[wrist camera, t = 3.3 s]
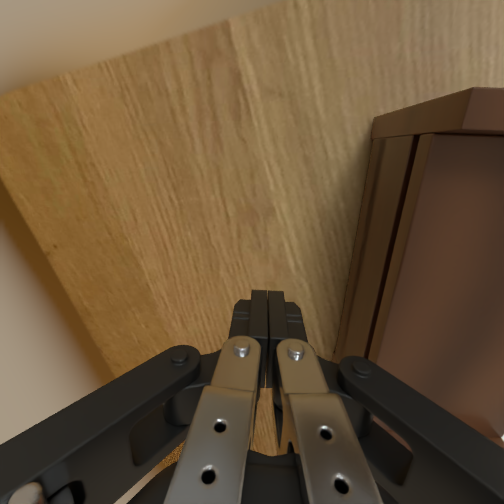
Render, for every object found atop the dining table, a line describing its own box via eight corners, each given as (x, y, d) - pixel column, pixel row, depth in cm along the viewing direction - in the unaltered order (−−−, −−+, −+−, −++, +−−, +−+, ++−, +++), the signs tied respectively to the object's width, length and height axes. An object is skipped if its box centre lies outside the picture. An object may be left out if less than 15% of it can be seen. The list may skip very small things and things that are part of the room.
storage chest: (330, 362, 22) (365, 471, 15) (374, 116, 16) (473, 86, 8) (430, 368, 22) (517, 482, 14) (515, 122, 16) (747, 95, 8)
